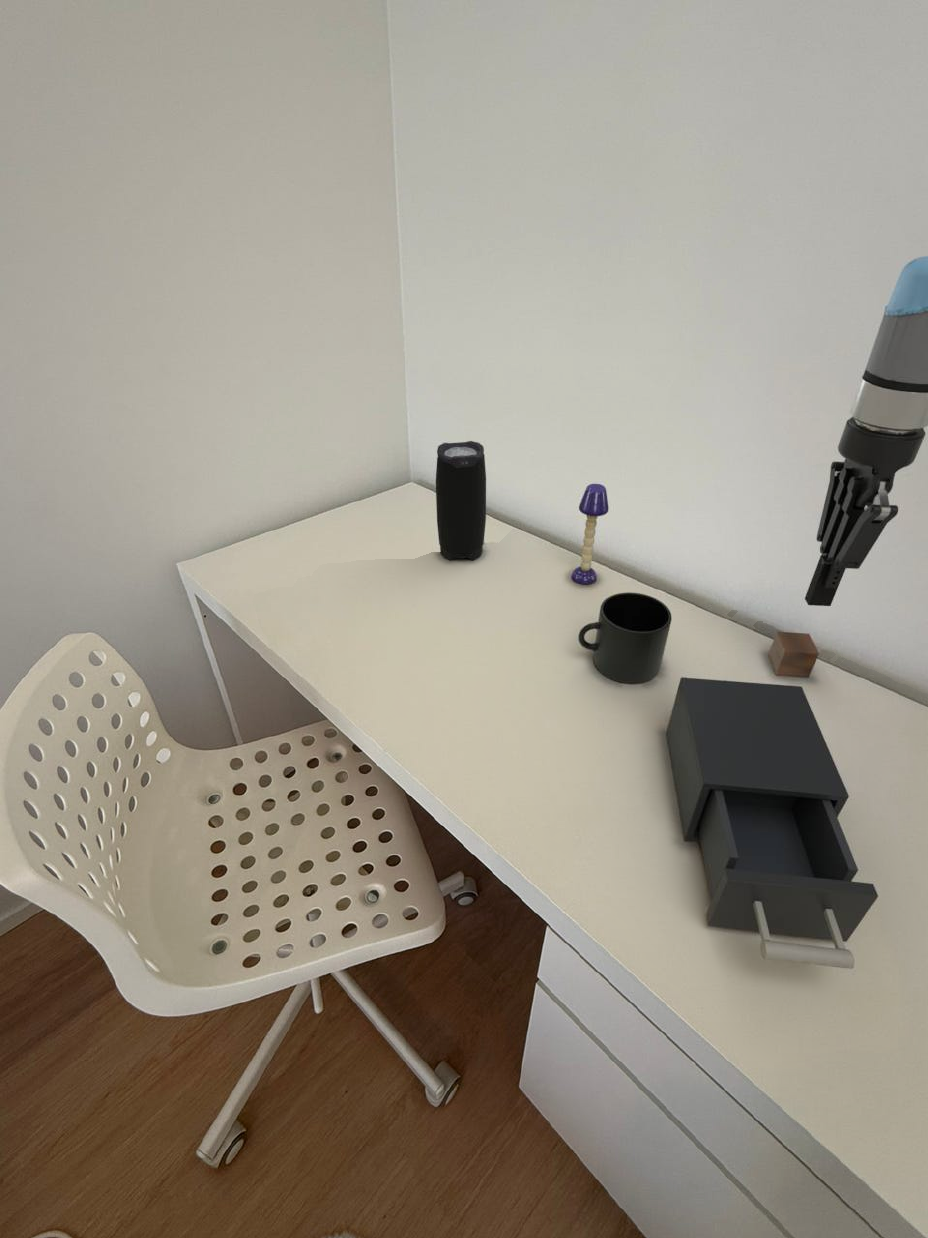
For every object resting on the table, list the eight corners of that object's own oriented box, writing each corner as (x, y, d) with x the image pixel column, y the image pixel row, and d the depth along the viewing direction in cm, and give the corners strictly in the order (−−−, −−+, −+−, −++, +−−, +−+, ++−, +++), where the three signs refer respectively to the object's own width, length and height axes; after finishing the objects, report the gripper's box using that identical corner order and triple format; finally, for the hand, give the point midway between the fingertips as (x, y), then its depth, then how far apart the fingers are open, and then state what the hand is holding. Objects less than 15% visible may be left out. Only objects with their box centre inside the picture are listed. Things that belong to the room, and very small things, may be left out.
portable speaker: (480, 537, 122) (482, 436, 110) (488, 563, 114) (491, 458, 102) (435, 540, 121) (431, 439, 109) (440, 566, 113) (437, 461, 101)
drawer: (866, 999, 56) (902, 954, 51) (717, 980, 57) (740, 936, 52) (800, 811, 71) (824, 764, 66) (684, 800, 72) (699, 753, 68)
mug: (571, 641, 96) (577, 591, 91) (652, 642, 96) (663, 592, 91) (578, 684, 89) (585, 632, 83) (666, 685, 89) (679, 633, 83)
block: (799, 657, 93) (809, 633, 91) (808, 677, 90) (819, 653, 87) (768, 655, 94) (776, 631, 91) (775, 675, 90) (785, 651, 88)
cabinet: (817, 854, 68) (849, 796, 62) (684, 841, 69) (703, 783, 63) (778, 743, 80) (801, 686, 74) (665, 733, 82) (680, 676, 76)
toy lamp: (568, 570, 112) (578, 480, 102) (595, 569, 112) (607, 480, 102) (573, 585, 108) (584, 494, 98) (601, 584, 109) (614, 493, 99)
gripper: (955, 446, 64) (868, 635, 78) (897, 402, 74) (829, 576, 88) (875, 444, 64) (803, 631, 78) (829, 401, 75) (773, 573, 89)
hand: (817, 602), depth 83 cm, fingers closed
